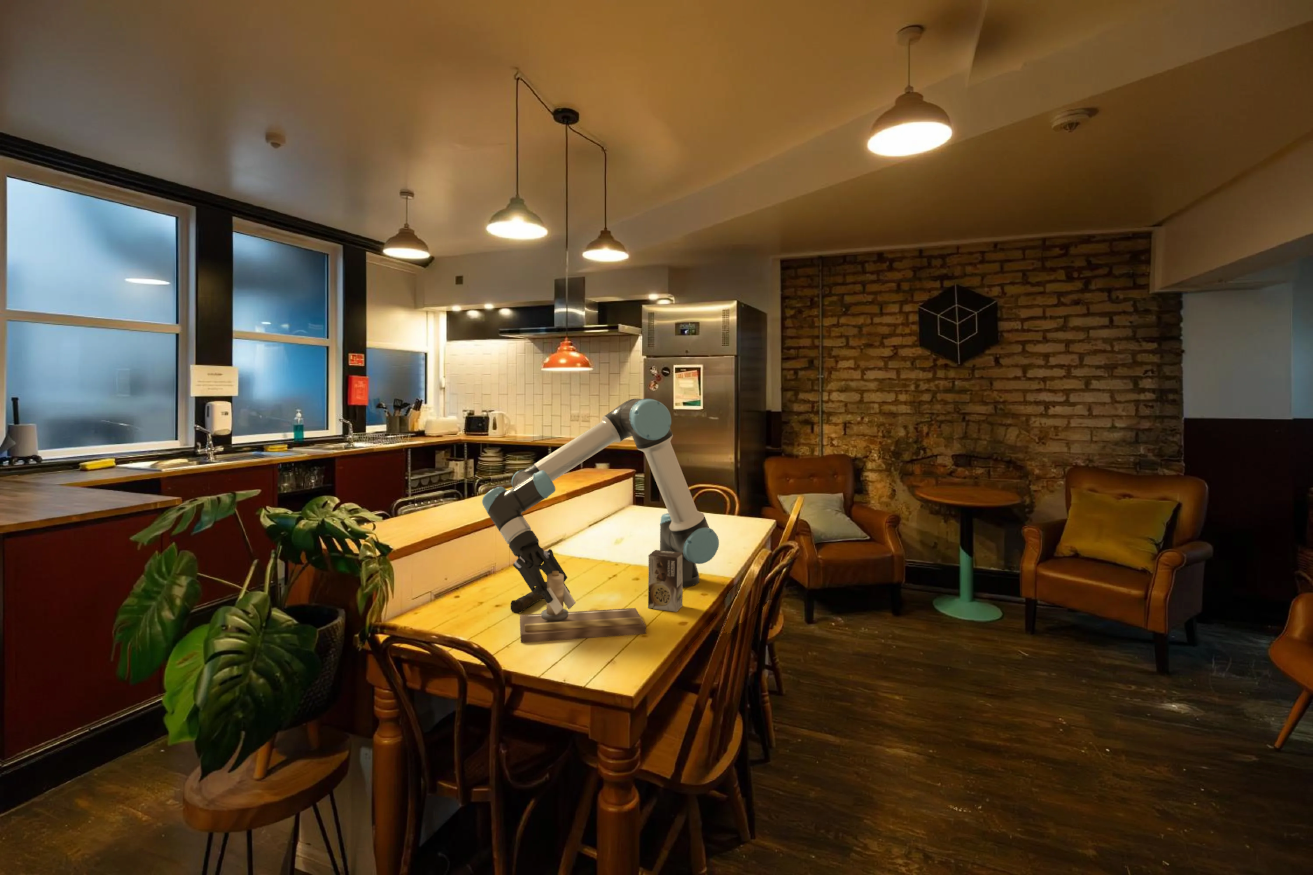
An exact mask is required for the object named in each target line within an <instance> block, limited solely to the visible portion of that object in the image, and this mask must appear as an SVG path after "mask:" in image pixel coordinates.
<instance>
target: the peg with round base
mask: <svg viewBox="0 0 1313 875" xmlns="http://www.w3.org/2000/svg"><path fill="white" fill-rule="evenodd" d="M546 582H547V589H548V588H551V589H552V591H553V593H554V594H555V596H556V597H557V599H558V600H559V602H560V603H561V605H562V607H563V609H562V610H561V611H560V612H559V613H558V614H557V615H556V614H555V613H554V611H553V609H552V608H551V606H550V605H549V603H547V602H546V609H544V610H542V611H541V613H540V614H541V617H542V619H544V620H548V621H560V620H564V619H566V618H567V617H568V612H569V611H568V610H567V609H565V608H564V602H563V598H564V583H565V582H564V575H563V574H561V573H559V571H552V573H551V574H548V575H546Z"/></svg>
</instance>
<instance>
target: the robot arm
mask: <svg viewBox="0 0 1313 875" xmlns="http://www.w3.org/2000/svg"><path fill="white" fill-rule="evenodd" d="M671 425H672V416H671V412H670V410H669V409H668V408H667V406H666V405H664V403H663V402H660V401H659V400H656V399H653V398H632V399H628V400H627V401H625V402H622V403H621V404H620V405H618V406H617V407H616V408H614V409H612V410H611V411H610V412H608V413H606V414H605V415H603V416H602V417H601V421H600V422H598V423H596V424H595V425H593V426H592V427H591V428H589V429H587V430H585V431H584V432H583V433H581V434H580V435H578V436H576V437H574V438H573V439H571V440H570V441H568V442H567V443H565V444H564V445H562V446H560V447H559V448H557V449H556V450H554V451H553V452H551V453H549V454H547V455H546V456H544V457H543V458H541V459H539V460H538V461H537V462H535V463H533V464H532V465H530V466H529V467H527V468H525V469H521V470H518V471H516V472H515V473H514V474H513V476H512V478H511V486H512V487H511V488H509V489H506V487H503V486H497V487H495V488H492V489H490V490H489V491H488V492H486V493H485V495H484V496H483V497H482V499H481V504H482V506H483V508H484V509H485V511H486V513H487V515H488V517H489V518H490V519H491V521H492V522H493V524H494V526H495V528H497V529H498V532H500V534H501V536H502V537H503V539H504V541H505V543H506V544H507V545H508V547H509V549H510V551H511V553H512V554H513V555H514V556H515V557H517V559H516V560H515V561H514V562H513V563H512V566H513V567H514V569H516V570H517V572H519V574H520V575H521V577H522V578H523V580H524V582H525V583H526V585H527V586H528V588H529V589H530V592H533V593H534V594H536V593H537V595H539V596H540V595H542V596H543V598H544V601H545V603H546V604H547V603H549V605H550V606H551V608H552V609H553V611H554V613H555V614H556V615H557V614H558V613H559V612H560V611H561V610H562V609H564V606H563V607H562V605H561V603H560V602H559V600H558V599H557V597H556V596H555V594H554V593H553V591H552V589H551V588H548V589H547V586H546V583H545V582H546V581H545V579H544V576H543V574H542V572H543V573H544V574H545V576H547V575H548V574H551V573H552V571H559V573H561V574H563V575H564V598H563V604H565V607H567V609H568V610H570V609H571V608H573V606H574V605H576V603H577V602H576V601H575V599H574V598H573V596H572V594H571V592H570V590H569V588H568V587H567V585H566V583H565V582H566V580H567V579H568V576H567V574H566V573H565V571H564V570H563V568H562V567H561V565H560V563H559V561H557V559H556V557H555V555H554V551H553V550H552V549H551V548H550V549H547V550H545V549H543V548H542V547H541V546H540V545H539V544H540V541H539V538H538V537H537V535H536V534H535V532H534V531H533V530H532V527H531V526H530V524H529V523H528V521H527V519H526V518H525V517H524V515H523V514H522V513H524V512H526V511H527V510H529V509H531V508H532V507H535V505H538V504H539V503H541V502H542V501H543V500H546V499H548V498H549V497H550V496H551V495H553V494H554V493H555V492H556V486H555V484H554V481H556V480H557V479H558V478H560V477H561V476H564V475H565V474H567V473H568V472H569V471H571V470H572V469H574V468H576V467H577V466H578V465H580V464H582V463H583V462H584V461H587V460H588V459H589V458H591V457H593V456H594V455H596V454H597V453H599V452H601V451H603V450H604V449H605V448H607V447H609V446H610V445H612V444H613V443H621V442H622V441H623V440H625V439H628V438H631V437H632V440H633V441H634V443H635V447H636V449H637V450H638V451H641V452H643V453H644V455H645V458H646V460H647V463H648V465H649V468H650V470H651V473H652V476H653V479H654V481H655V482H656V485H657V488H658V490H659V493H660V495H661V498H662V500H663V502H664V504H665V507H666V510H667V512H668V513H664V514H662V515H661V517H660V524H659V526H660V527H659V534H660V535H659V550H662V551H672V552H683V588H688V587H694V586H696V585H698V584H699V583H700V573H699V570H698V567H697V565H703V564H705V563H708V562H710V561H711V560H712V559H713V558H715V555H716V554H717V553H718V552H717V551H718V550H719V545H720V540H719V537H718V535H717V533H716V532H715V530H714V529H712V527H711V528H710V526H709V524H708V521H707V518H706V516H705V514H704V512H702V511H699V510H698V508H697V507H696V504H695V502H694V499H693V496H692V493H691V490H690V488H689V486H688V484H687V481H686V478H685V476H684V474H683V471H682V468H681V466H680V463H679V460H678V458H677V455H676V453H675V450H674V447H673V445H672V442H671V440H672V439H673V437H674V435H673V431H672V429H671ZM541 571H542V572H541Z"/></svg>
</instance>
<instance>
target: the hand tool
mask: <svg viewBox="0 0 1313 875" xmlns="http://www.w3.org/2000/svg"><path fill="white" fill-rule="evenodd" d="M545 583H546V586H547V581H545ZM542 599H544V598H543V596H542V595H540V596H539V595H537V593H536V594H534V593H533V592H532V591H530V592H529V593H526V594H525V595H522V596H521V597H518V598H517V599H514V600H511V602H510V610H511V612H512V613H516V614H521V613H523V612H525V609H528V608H529V607H531V606H532V605H534V604H536V603H537V602H539V601H540V600H542ZM544 600H545V599H544Z"/></svg>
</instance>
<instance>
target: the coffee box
mask: <svg viewBox="0 0 1313 875" xmlns="http://www.w3.org/2000/svg"><path fill="white" fill-rule="evenodd" d="M647 557H648V576H647V577H648V583H647V584H648V591H647V596H648V597H647V602H648V603H647V609H651V608H653V609H652V610H661V611H667V612H675V613H677V612H678V611H679V610H680V609H681V608H682V607H683V592H684V591H683V589H684V587H683V552H672V551H662V550H660V549H654V550H653V551H652V552H651V553H649V554H648V556H647Z"/></svg>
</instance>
